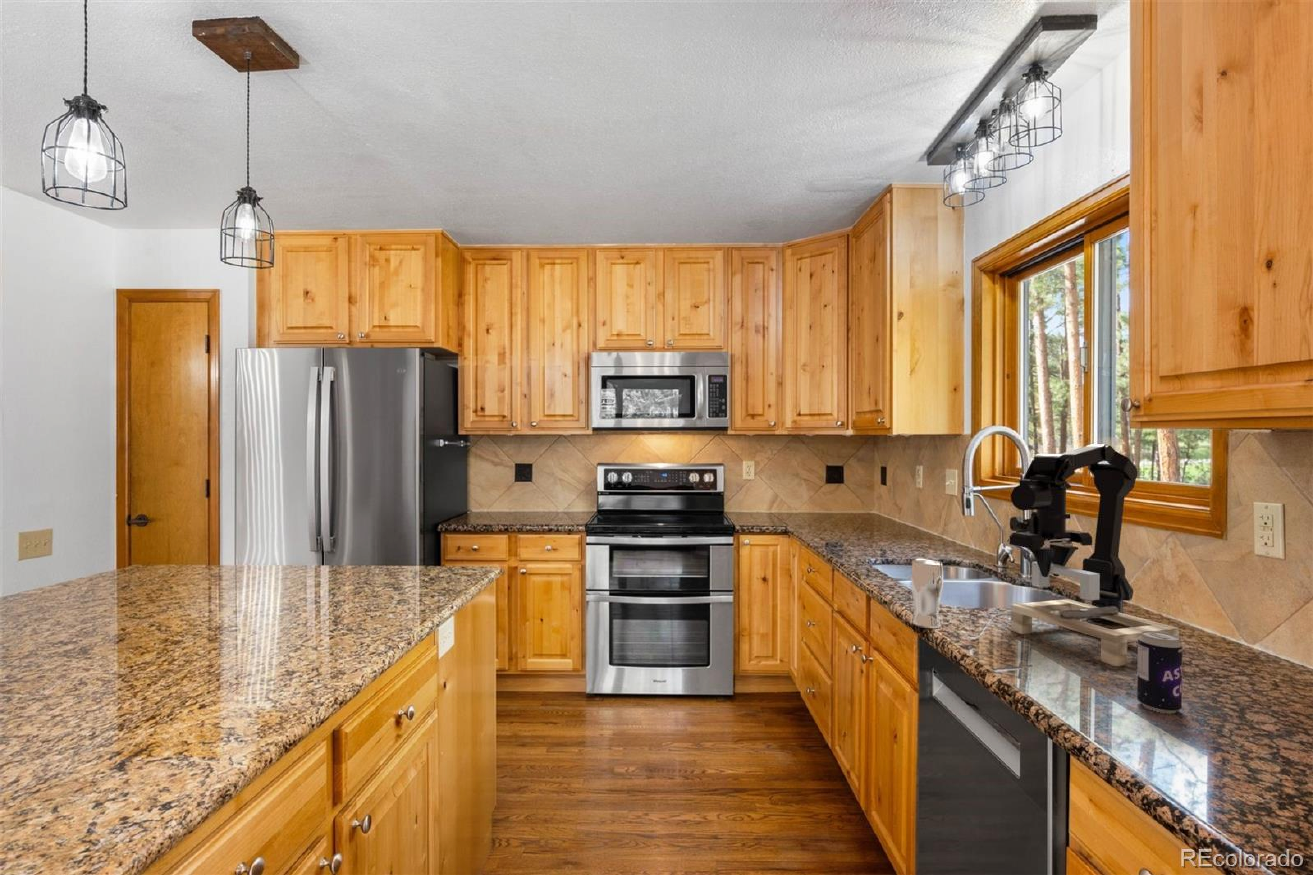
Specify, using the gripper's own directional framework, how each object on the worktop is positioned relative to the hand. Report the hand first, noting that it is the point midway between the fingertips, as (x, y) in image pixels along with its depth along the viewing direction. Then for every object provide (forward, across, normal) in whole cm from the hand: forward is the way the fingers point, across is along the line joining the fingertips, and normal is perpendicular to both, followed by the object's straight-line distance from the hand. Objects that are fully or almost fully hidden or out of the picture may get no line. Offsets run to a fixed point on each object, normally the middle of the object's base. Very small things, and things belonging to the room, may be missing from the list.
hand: (1050, 576), depth 144 cm
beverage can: (+13, +20, +37) cm, 44 cm away
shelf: (+13, -2, +8) cm, 15 cm away
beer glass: (+13, +24, -12) cm, 30 cm away
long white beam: (+3, 0, +4) cm, 4 cm away
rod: (+7, -2, +8) cm, 11 cm away
